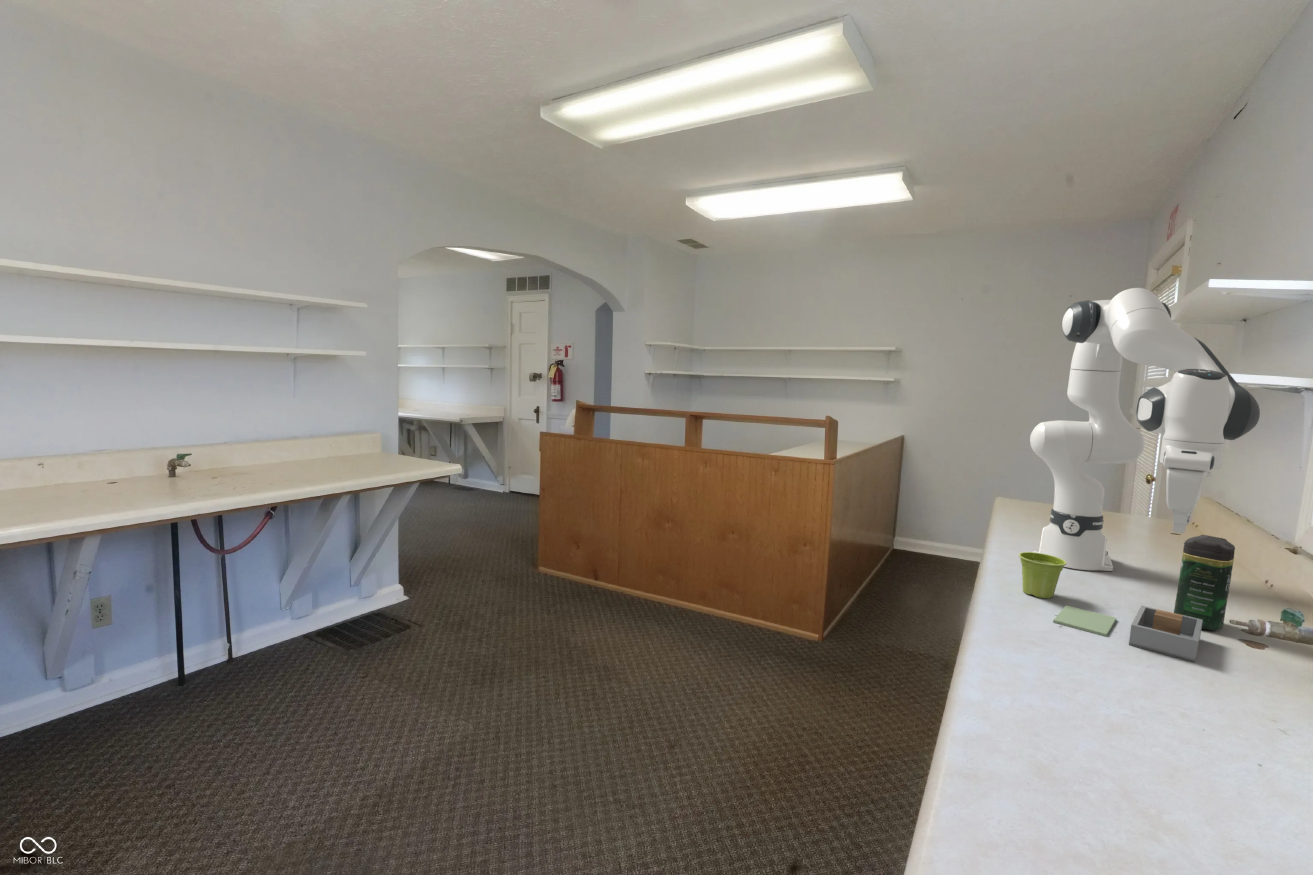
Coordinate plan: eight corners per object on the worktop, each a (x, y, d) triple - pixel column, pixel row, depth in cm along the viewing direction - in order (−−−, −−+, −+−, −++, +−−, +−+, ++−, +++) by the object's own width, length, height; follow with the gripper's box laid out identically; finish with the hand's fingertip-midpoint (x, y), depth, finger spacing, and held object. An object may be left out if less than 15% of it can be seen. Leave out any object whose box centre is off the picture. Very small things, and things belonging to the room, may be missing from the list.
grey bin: (1139, 623, 129) (1141, 605, 128) (1199, 638, 122) (1202, 619, 122) (1128, 644, 118) (1131, 624, 118) (1194, 662, 112) (1197, 641, 111)
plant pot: (1048, 588, 149) (1052, 553, 148) (1070, 602, 140) (1075, 565, 139) (1007, 585, 150) (1011, 550, 149) (1027, 599, 141) (1031, 562, 140)
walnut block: (1153, 633, 123) (1156, 608, 123) (1179, 639, 120) (1183, 615, 120) (1151, 638, 120) (1154, 614, 120) (1177, 645, 117) (1181, 620, 117)
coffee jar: (1219, 635, 124) (1232, 545, 122) (1169, 622, 130) (1181, 536, 128) (1227, 623, 131) (1239, 538, 129) (1178, 611, 137) (1190, 529, 135)
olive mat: (1066, 607, 137) (1066, 605, 137) (1116, 619, 130) (1116, 617, 130) (1053, 622, 128) (1053, 619, 128) (1106, 636, 122) (1106, 633, 122)
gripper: (1174, 450, 126) (1165, 516, 127) (1163, 458, 111) (1153, 533, 113) (1215, 454, 121) (1206, 522, 123) (1210, 462, 107) (1199, 540, 108)
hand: (1180, 528), depth 118 cm, fingers open, 8 cm apart
